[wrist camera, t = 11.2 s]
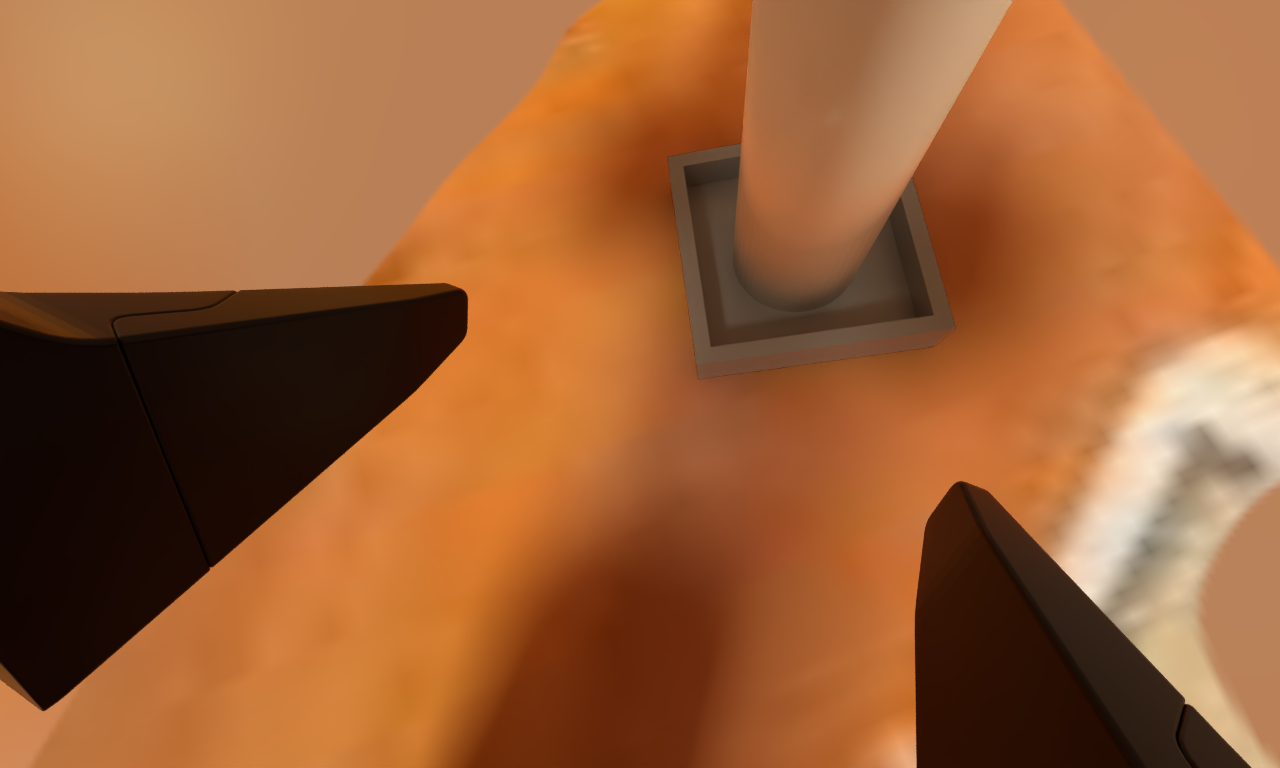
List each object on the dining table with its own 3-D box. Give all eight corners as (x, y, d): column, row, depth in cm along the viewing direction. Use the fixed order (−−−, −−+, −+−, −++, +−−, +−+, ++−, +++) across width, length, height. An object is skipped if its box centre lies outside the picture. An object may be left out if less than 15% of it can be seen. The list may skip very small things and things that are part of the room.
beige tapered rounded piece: (883, 275, 21) (1134, -94, 9) (772, 333, 21) (862, 50, 8) (814, 182, 22) (943, -248, 10) (710, 237, 22) (710, -125, 10)
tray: (933, 347, 21) (956, 328, 19) (698, 379, 21) (696, 364, 20) (879, 150, 23) (894, 115, 21) (670, 185, 24) (667, 156, 22)
